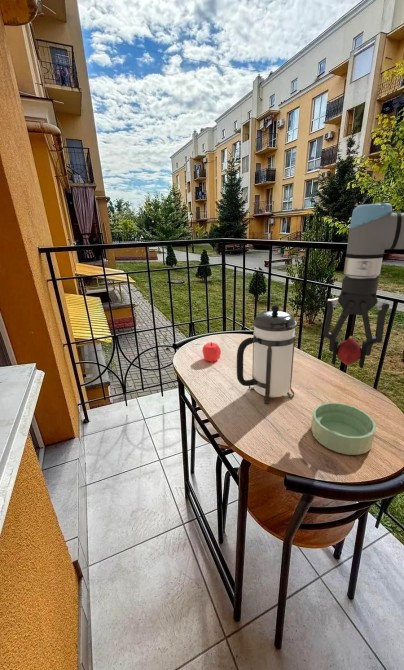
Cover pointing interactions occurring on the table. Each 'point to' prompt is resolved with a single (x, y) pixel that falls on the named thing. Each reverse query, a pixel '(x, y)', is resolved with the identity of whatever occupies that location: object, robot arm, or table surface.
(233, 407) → the table surface
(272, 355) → the coffee press
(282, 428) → the table surface
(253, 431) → the table surface
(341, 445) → the bowl
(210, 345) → the apple
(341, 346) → the onion
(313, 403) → the table surface
